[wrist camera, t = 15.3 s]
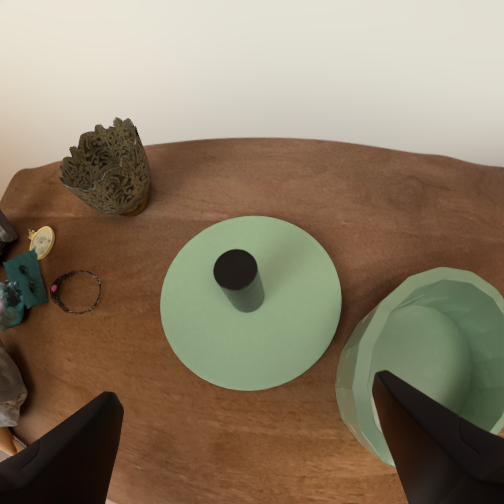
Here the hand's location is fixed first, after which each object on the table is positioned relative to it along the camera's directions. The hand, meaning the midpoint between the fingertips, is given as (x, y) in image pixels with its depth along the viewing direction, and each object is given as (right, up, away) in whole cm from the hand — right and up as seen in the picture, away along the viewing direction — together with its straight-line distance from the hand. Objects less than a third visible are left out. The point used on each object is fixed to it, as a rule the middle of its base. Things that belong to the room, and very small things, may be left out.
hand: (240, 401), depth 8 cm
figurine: (-20, +3, +10) cm, 23 cm away
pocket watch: (-24, +6, +18) cm, 31 cm away
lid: (0, +2, +12) cm, 12 cm away
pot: (+12, -4, +8) cm, 15 cm away
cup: (-11, +9, +18) cm, 23 cm away
